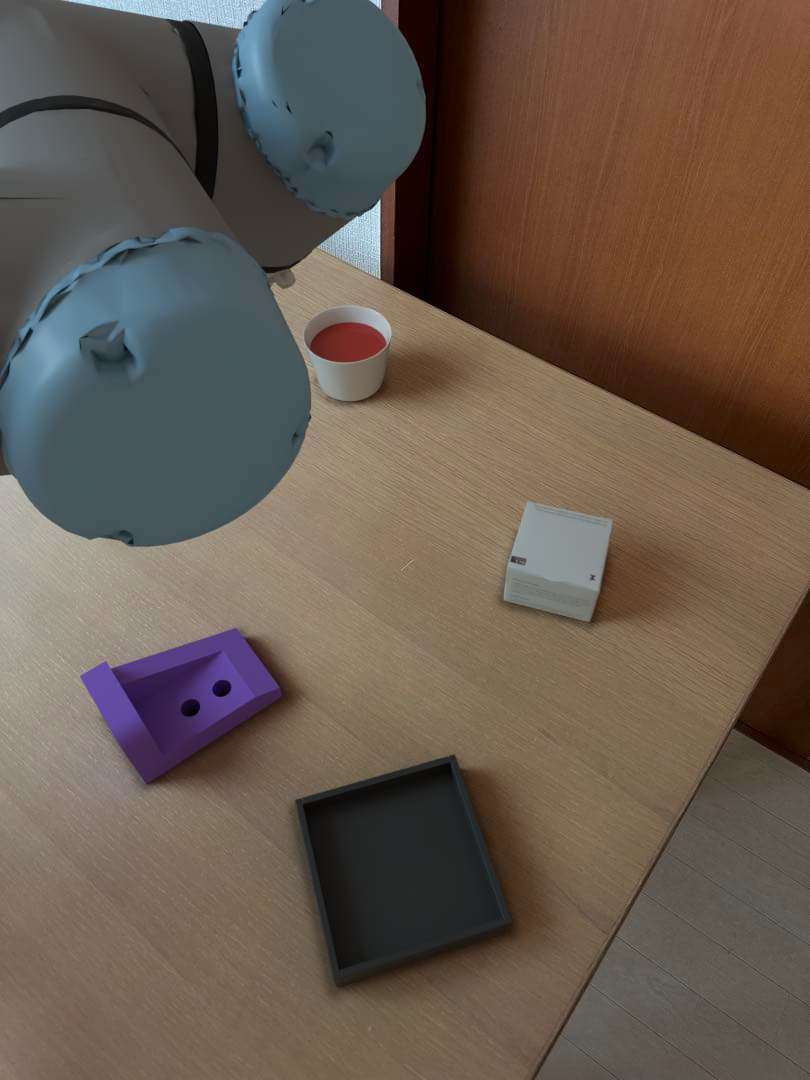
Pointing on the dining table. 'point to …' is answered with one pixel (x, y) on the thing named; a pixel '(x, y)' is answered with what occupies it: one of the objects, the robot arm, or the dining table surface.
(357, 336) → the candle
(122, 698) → the bracket
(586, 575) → the small box
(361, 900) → the black tray
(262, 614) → the dining table surface
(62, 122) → the robot arm
